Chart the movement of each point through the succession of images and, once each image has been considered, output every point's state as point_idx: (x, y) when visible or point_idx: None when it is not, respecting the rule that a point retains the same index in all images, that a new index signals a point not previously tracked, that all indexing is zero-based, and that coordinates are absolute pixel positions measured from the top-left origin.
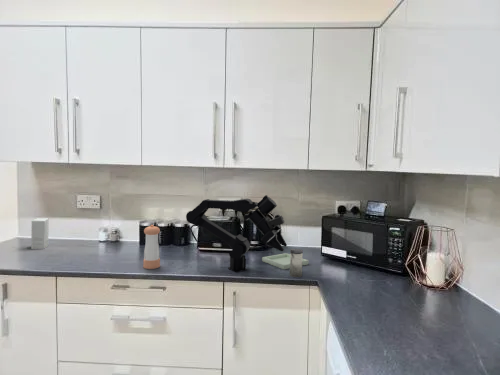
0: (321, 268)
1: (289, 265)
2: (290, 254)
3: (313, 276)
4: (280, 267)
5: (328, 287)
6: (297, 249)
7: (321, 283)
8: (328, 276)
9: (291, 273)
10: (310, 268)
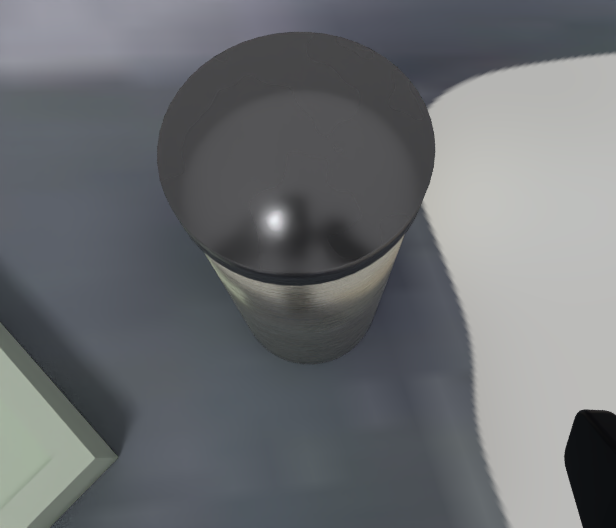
0: (22, 75)
1: (39, 385)
2: (330, 292)
3: None
4: (63, 508)
5: (553, 23)
6: (218, 129)
7: (474, 70)
8: (260, 23)
9: (362, 334)
10: (33, 167)
